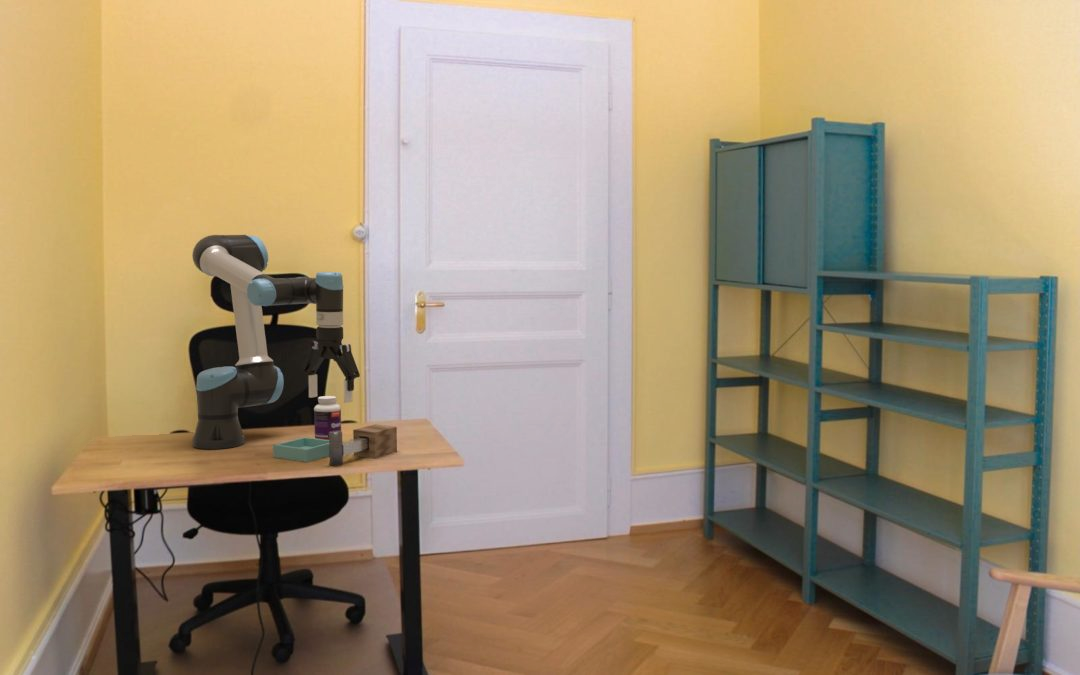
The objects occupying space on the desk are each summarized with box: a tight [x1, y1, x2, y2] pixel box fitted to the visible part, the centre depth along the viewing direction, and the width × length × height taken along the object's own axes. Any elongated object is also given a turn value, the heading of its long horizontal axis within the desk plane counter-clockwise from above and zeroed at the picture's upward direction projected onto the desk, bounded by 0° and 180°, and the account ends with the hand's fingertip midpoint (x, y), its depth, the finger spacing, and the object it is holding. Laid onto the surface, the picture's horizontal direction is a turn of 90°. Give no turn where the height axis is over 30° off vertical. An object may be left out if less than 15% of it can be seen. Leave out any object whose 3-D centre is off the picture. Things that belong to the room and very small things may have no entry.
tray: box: [272, 436, 329, 463], centre depth 279 cm, size 13×13×4 cm
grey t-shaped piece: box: [328, 430, 369, 466], centre depth 272 cm, size 17×4×9 cm, turn 150°
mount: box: [352, 423, 398, 459], centre depth 281 cm, size 10×8×8 cm
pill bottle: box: [313, 395, 342, 440], centre depth 295 cm, size 8×8×14 cm
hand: (330, 399), depth 276 cm, fingers open, 13 cm apart
